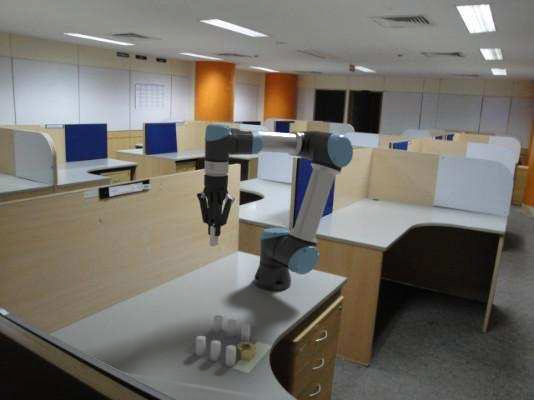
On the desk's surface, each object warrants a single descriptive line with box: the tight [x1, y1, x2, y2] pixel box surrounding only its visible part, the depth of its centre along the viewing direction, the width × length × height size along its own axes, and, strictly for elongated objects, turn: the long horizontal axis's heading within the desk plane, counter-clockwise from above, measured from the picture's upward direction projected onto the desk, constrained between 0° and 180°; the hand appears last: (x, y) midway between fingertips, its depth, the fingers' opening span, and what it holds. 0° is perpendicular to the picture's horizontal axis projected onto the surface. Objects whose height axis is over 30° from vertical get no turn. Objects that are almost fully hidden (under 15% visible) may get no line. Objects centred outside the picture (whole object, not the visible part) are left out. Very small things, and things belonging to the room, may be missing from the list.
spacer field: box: [184, 315, 273, 374], centre depth 133 cm, size 16×21×6 cm
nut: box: [236, 342, 256, 361], centre depth 130 cm, size 6×5×3 cm
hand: (213, 244), depth 146 cm, fingers closed
